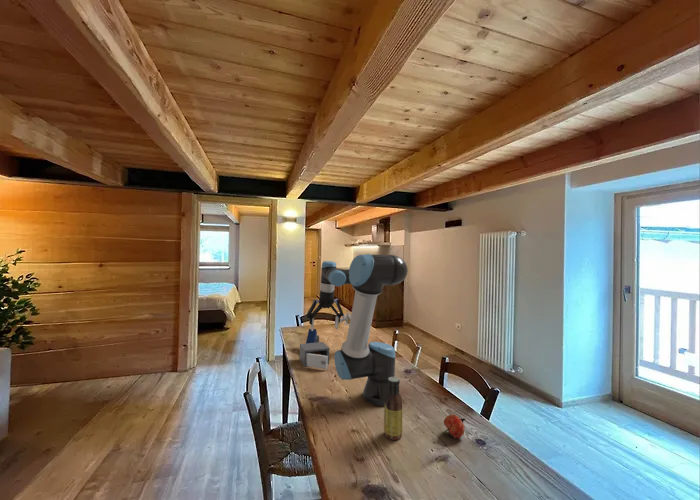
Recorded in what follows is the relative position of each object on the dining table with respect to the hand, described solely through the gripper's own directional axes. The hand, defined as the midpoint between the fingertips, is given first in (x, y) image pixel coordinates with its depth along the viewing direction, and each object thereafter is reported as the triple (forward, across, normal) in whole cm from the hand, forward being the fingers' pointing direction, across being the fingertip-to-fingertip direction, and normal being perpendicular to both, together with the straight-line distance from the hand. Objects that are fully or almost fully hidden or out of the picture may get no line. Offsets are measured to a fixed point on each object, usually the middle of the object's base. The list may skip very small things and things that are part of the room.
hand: (324, 329), depth 163 cm
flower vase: (+24, -24, -15) cm, 37 cm away
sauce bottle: (+12, -5, +67) cm, 68 cm away
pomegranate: (+12, -25, +74) cm, 79 cm away
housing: (+23, +2, -9) cm, 24 cm away
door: (+20, +4, +2) cm, 21 cm away
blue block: (+26, -2, -29) cm, 39 cm away
